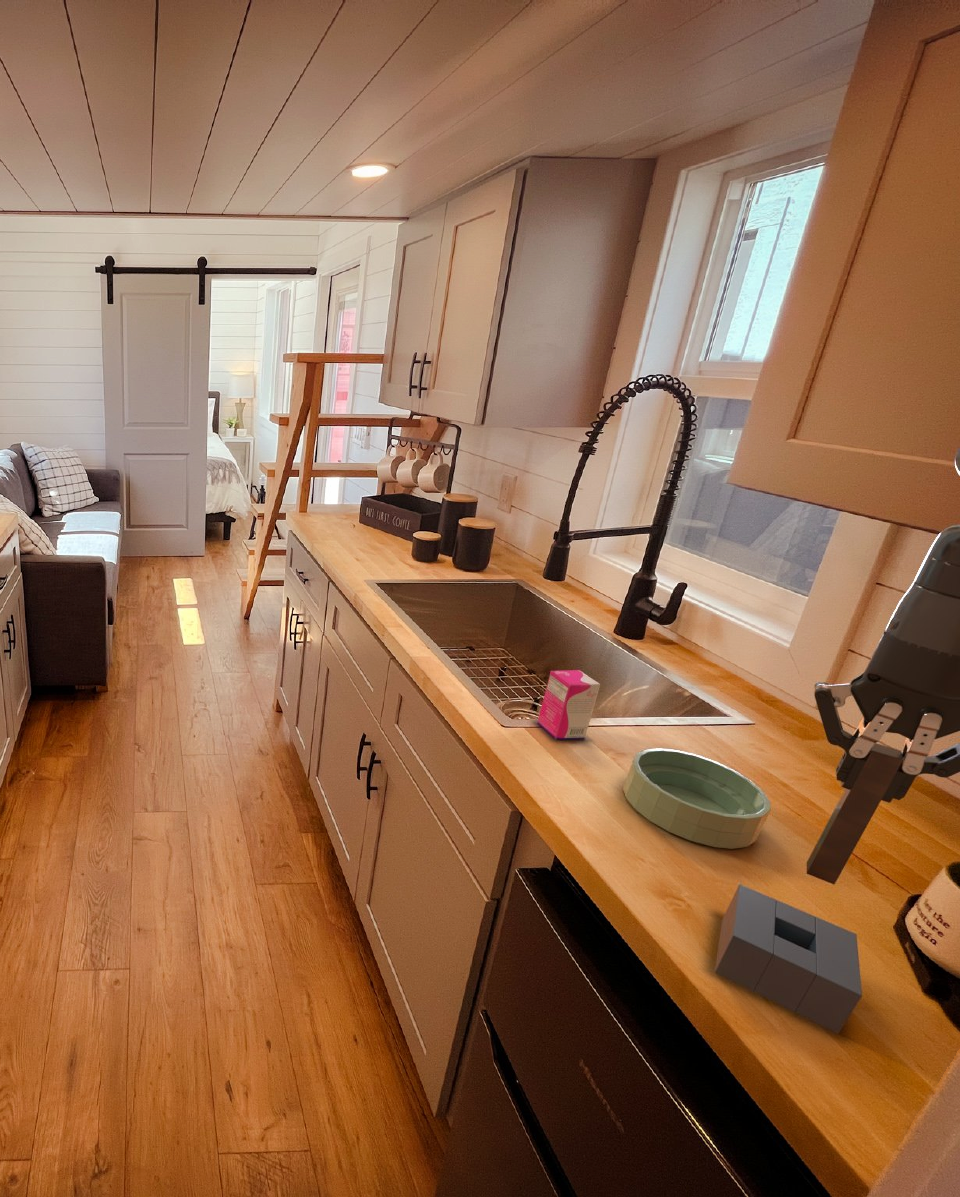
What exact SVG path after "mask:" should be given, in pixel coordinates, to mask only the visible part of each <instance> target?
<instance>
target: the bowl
mask: <svg viewBox="0 0 960 1197" xmlns="http://www.w3.org/2000/svg"><path fill="white" fill-rule="evenodd" d="M622 790H623V793H624V796H625V799H626V800H627V802H628V803H629V804H630V805H631V806H632V807H633V809H634V810H635V811H636V812H638V813H639V814H640V815H641V816H643V817H645V818H646V820H648V821H650V822H651V823H653V824H654V825H656V826H658V827H660V828H662V829H663V830H665V831H667V832H669V833H670V834H674V835H676V836H678V837H681V838H683V839H685V840H688V841H690V842H694V843H697V844H700V845H706V846H709V847H713V848H720V849H721V848H722V849H730V850H731V849H732V850H733V849H741V848H747V847H750V846H751V845H752V844H754V843H755V842H756V841H757V840H758V837H759V836H760V833H761V831H762V829H763V827H764V825H765V823H766V820H768V817H769V815H770V812H771V806H772V801H771V800H770V799H769V797H768V795H767V794H766V792H765V791H764V790H763V789H762V788H760V787H759V786H758V785H757V783H755V782H754V781H753V780H751V779H750V778H749V777H746V776H745V775H743V774H742V773H740V772H739V771H737V770H735V769H733V768H732V767H729V766H726V765H725V764H722V763H721V762H718V761H716V760H713V759H710V758H708V757H704V756H702V755H698V754H695V753H692V752H687V751H682V750H677V749H669V748H662V747H661V748H660V747H657V748H656V747H655V748H648V749H643V750H642V751H638V752H637V753H635V754H634V757H633V760H632V762H631V765H630V768H629V770H628V773H627V776H626V779H625V780H624V784H623V787H622Z"/></svg>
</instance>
